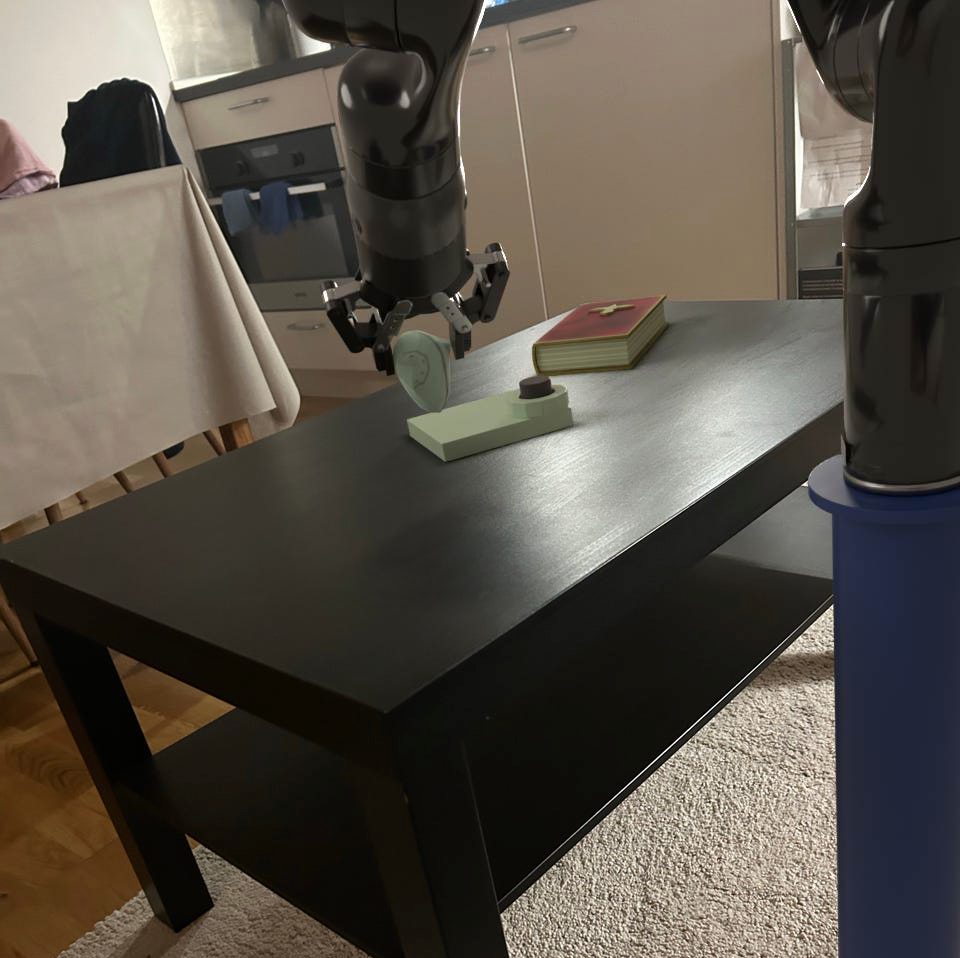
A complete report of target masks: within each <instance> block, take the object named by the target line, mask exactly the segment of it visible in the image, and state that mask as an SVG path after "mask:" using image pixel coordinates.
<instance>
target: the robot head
mask: <svg viewBox="0 0 960 958" xmlns="http://www.w3.org/2000/svg"><path fill="white" fill-rule="evenodd" d="M451 351H452V347H451V343H450V339H446V338H443V337H438V336H436V335H433V334H430V333H428V332H425V331H422V330H407V331H406V332H403V333H402V334H401V335H400V336H399V337H398V339H397V340H396V342H395V344H394V345H393V347H392V354H393V362H394V370H395V375H396V376H397V378H398V379H399V381H400V383H401V385H402V387H403V388H404V389H405V391H406V392H407V394H408V395H409V397H410V398H411V399H412V400H413V402H414V403H416V405H417V406H418V407H419V408H421V409H422V410H424V411H426V412H428V414H429V413H440V412H441V411H442V410H443V409H445V406H446V405H447V403H448V401H449V398H450V395H451Z"/></svg>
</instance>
